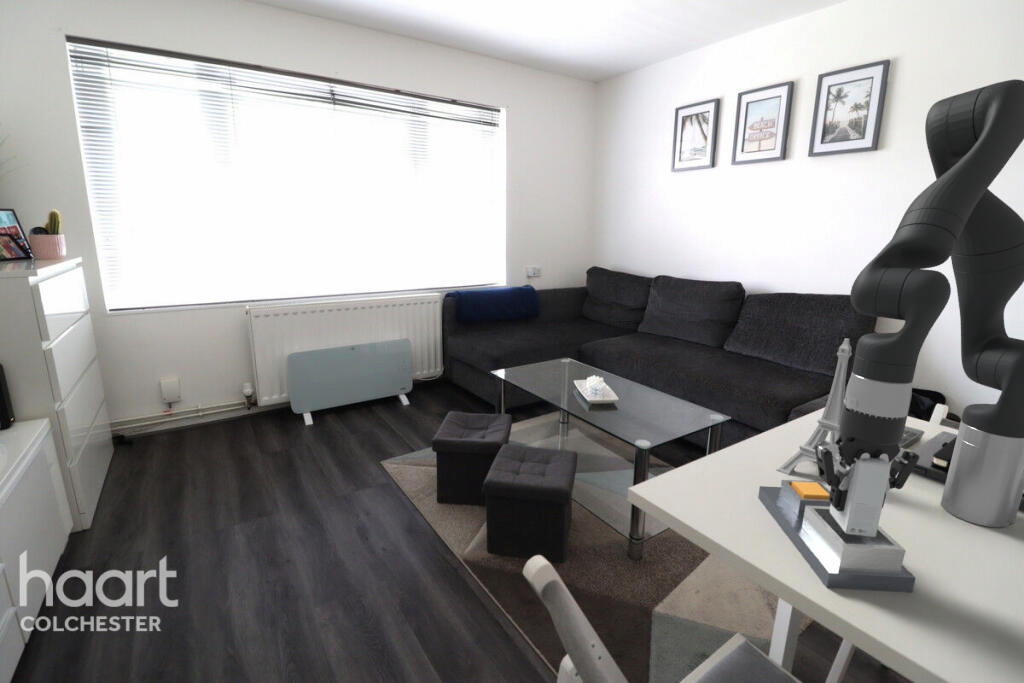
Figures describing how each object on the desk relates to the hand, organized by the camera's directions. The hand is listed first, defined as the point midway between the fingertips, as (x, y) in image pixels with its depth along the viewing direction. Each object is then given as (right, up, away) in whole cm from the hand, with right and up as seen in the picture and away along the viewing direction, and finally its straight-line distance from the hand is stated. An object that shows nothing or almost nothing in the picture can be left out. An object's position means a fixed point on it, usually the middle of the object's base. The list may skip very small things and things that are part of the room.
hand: (854, 508), depth 74 cm
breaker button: (+1, -4, +13) cm, 13 cm away
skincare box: (0, -3, +1) cm, 3 cm away
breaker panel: (0, -8, +8) cm, 11 cm away
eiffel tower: (+14, -3, +30) cm, 33 cm away
